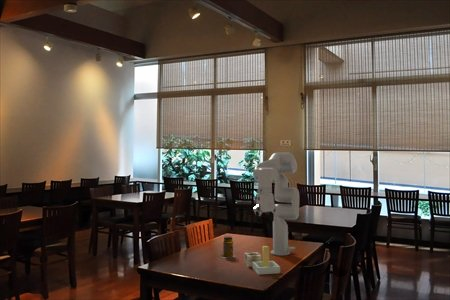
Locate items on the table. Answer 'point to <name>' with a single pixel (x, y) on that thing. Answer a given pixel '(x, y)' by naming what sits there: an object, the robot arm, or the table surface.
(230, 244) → the condiment
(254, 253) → the socket block
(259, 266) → the tray
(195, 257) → the table surface
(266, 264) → the dowel
